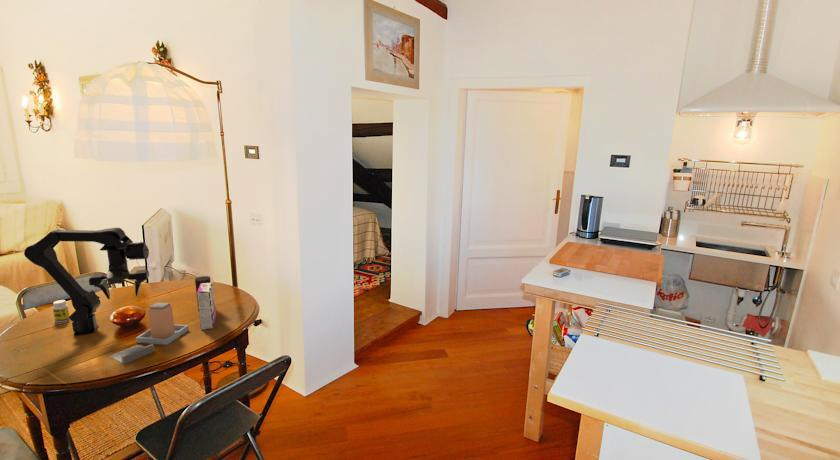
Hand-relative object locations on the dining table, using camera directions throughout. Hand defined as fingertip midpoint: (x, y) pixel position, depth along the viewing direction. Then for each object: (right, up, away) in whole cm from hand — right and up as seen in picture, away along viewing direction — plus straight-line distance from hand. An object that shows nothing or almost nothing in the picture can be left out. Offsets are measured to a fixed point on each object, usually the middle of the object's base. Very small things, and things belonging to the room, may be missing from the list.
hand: (123, 297), depth 164 cm
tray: (+19, -15, -4) cm, 24 cm away
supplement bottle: (-31, -11, +8) cm, 34 cm away
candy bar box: (+30, -13, +8) cm, 34 cm away
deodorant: (+22, -9, +21) cm, 32 cm away
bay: (+15, -18, -17) cm, 29 cm away
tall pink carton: (+19, -14, -4) cm, 24 cm away
